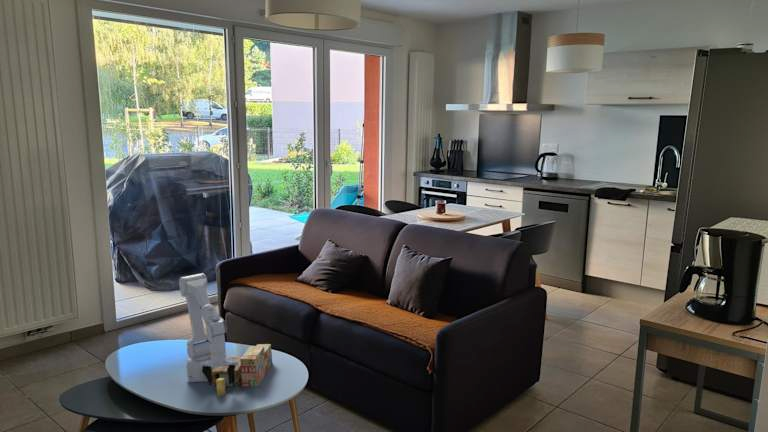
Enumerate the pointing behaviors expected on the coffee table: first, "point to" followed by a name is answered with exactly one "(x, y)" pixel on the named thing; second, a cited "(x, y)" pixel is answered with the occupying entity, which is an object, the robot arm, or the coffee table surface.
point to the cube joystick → (223, 383)
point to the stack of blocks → (255, 364)
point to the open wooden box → (224, 370)
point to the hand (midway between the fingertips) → (220, 383)
